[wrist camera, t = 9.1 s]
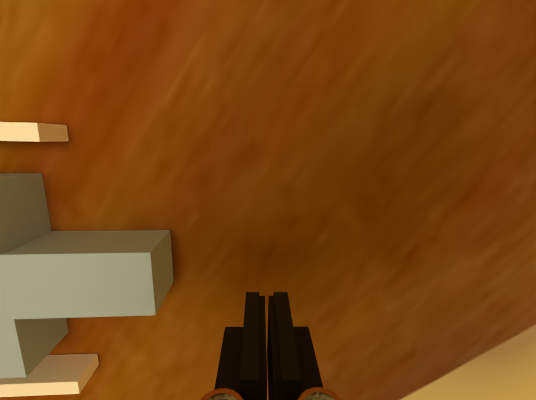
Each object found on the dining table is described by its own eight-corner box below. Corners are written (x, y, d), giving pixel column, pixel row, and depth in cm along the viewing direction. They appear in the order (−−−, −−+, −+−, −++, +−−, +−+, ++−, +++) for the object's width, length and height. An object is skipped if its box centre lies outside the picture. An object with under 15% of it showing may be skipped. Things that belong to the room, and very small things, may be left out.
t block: (166, 173, 19) (144, 182, 15) (176, 328, 21) (160, 371, 17) (-23, 173, 18) (-100, 182, 14) (12, 334, 20) (-44, 380, 16)
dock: (66, 125, 17) (36, 122, 15) (99, 364, 21) (79, 393, 19) (-52, 122, 17) (-103, 119, 14) (3, 367, 21) (-30, 398, 18)
